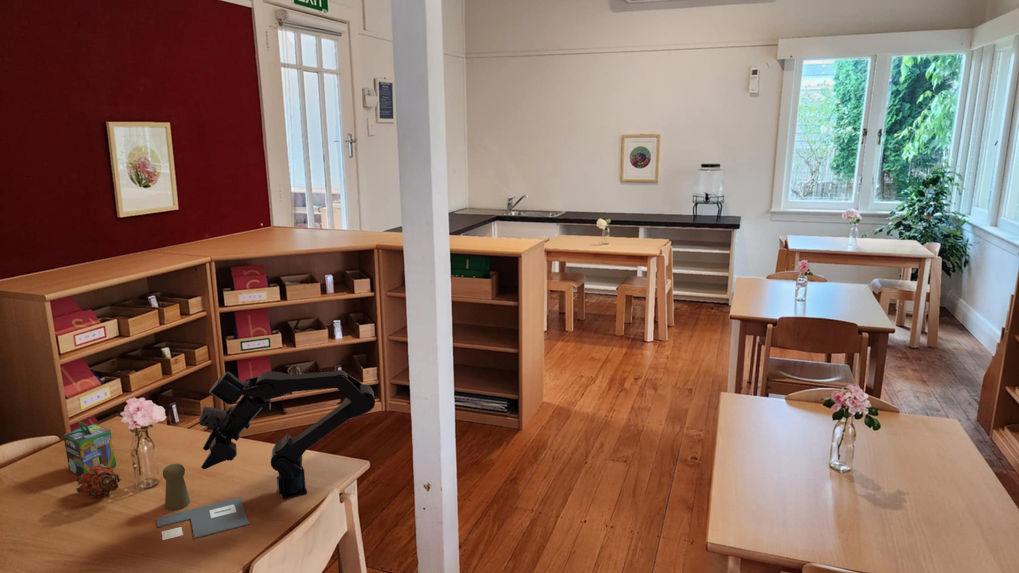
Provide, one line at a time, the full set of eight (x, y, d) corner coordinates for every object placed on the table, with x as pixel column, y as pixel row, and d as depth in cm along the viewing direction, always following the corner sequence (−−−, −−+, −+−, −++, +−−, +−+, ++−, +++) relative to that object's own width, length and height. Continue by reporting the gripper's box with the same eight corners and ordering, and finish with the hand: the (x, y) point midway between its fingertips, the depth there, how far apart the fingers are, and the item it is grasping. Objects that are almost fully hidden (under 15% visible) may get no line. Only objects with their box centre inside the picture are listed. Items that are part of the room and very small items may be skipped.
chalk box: (117, 466, 196) (110, 419, 193) (84, 479, 189) (76, 430, 186) (100, 458, 201) (94, 412, 198) (67, 470, 194) (60, 423, 190)
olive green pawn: (171, 513, 173) (167, 474, 170) (160, 505, 176) (155, 467, 174) (194, 503, 177) (190, 465, 175) (183, 495, 181) (179, 458, 178)
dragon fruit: (120, 503, 180) (83, 503, 183) (134, 473, 186) (98, 474, 188) (98, 489, 174) (60, 490, 177) (114, 459, 179) (77, 460, 182)
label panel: (240, 498, 180) (240, 496, 180) (249, 524, 168) (249, 523, 168) (156, 518, 170) (156, 517, 170) (159, 548, 158) (159, 546, 158)
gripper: (217, 382, 180) (178, 426, 179) (214, 415, 163) (172, 463, 163) (252, 403, 185) (215, 446, 185) (253, 436, 168) (212, 484, 168)
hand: (203, 458), depth 175 cm, fingers open, 9 cm apart
